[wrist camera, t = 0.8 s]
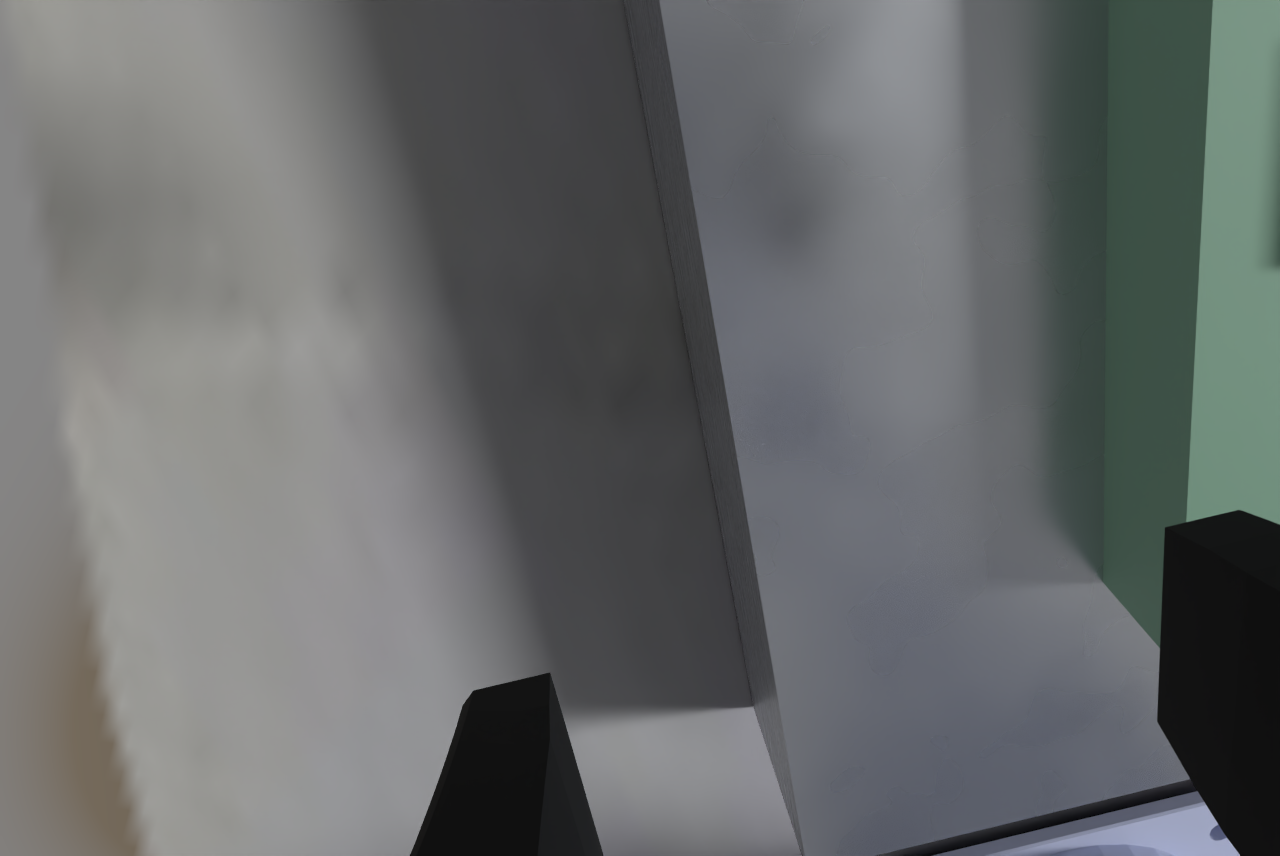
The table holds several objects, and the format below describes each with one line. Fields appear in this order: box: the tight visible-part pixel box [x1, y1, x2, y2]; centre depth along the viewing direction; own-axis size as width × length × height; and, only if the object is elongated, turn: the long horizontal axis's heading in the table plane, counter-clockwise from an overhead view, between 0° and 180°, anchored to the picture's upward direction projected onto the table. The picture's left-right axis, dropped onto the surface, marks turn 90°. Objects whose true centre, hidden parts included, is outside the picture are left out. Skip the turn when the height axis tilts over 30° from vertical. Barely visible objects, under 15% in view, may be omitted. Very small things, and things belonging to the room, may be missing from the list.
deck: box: [623, 0, 1190, 856], centre depth 16 cm, size 18×14×4 cm
